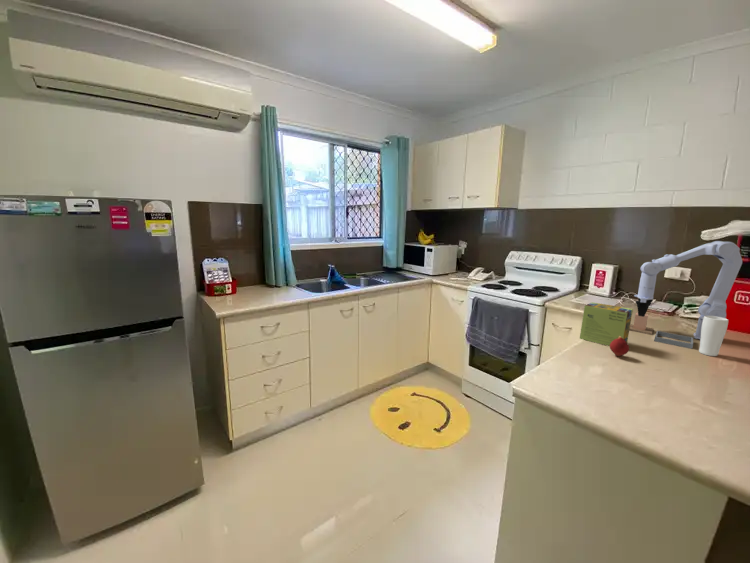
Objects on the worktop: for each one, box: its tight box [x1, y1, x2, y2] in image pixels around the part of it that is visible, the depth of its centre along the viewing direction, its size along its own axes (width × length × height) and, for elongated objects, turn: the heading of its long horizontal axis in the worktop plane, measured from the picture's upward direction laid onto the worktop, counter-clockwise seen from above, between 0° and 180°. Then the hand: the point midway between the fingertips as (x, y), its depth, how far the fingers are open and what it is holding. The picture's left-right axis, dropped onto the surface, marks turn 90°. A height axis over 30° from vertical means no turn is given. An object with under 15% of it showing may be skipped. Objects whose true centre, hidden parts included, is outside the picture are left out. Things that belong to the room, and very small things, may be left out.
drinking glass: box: [698, 316, 729, 357], centre depth 125 cm, size 7×7×15 cm
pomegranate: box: [609, 336, 630, 357], centre depth 121 cm, size 6×6×8 cm
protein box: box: [579, 302, 634, 347], centre depth 137 cm, size 10×15×16 cm
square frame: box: [653, 330, 694, 349], centre depth 140 cm, size 12×12×2 cm
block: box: [633, 312, 649, 330], centre depth 154 cm, size 4×4×7 cm
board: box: [629, 323, 655, 336], centre depth 155 cm, size 10×10×1 cm
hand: (642, 314), depth 154 cm, fingers open, 7 cm apart
